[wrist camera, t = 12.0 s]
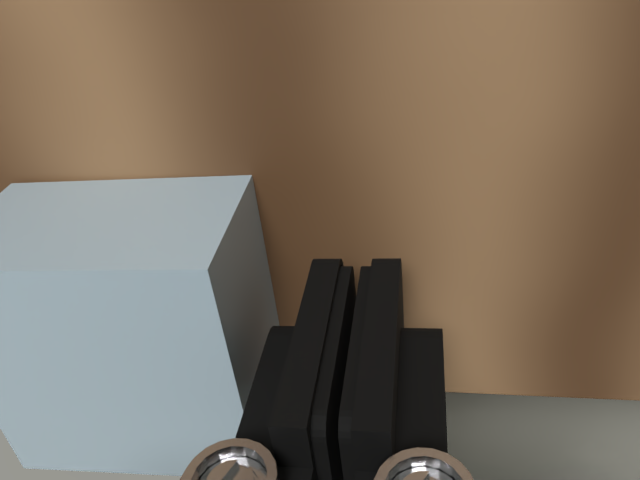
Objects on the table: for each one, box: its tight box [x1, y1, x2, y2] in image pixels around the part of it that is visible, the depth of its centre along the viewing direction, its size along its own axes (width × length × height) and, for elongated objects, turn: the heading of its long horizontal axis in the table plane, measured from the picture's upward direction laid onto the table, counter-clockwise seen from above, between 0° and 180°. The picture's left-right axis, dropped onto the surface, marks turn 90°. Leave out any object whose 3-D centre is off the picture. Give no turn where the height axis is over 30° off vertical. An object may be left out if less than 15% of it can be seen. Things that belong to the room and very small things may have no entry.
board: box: [0, 0, 640, 400], centre depth 12 cm, size 19×15×4 cm
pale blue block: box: [0, 175, 280, 476], centre depth 12 cm, size 5×5×3 cm
